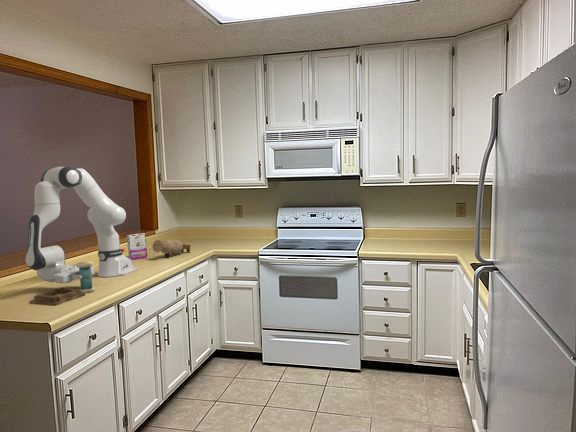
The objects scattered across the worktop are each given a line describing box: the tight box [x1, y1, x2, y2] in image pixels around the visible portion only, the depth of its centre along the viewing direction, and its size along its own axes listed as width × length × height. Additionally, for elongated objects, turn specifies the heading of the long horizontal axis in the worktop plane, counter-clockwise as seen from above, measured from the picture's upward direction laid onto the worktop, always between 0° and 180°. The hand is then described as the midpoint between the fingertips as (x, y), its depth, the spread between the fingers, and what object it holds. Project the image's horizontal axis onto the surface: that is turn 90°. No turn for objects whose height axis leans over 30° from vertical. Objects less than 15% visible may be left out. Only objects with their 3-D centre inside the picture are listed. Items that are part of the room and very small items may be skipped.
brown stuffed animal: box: [152, 238, 191, 259], centre depth 303 cm, size 10×12×30 cm
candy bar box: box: [126, 232, 148, 261], centre depth 300 cm, size 11×5×16 cm, turn 126°
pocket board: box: [29, 287, 86, 306], centre depth 206 cm, size 16×16×3 cm
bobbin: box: [76, 261, 96, 294], centre depth 217 cm, size 7×7×14 cm
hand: (86, 275), depth 217 cm, fingers closed on bobbin, 5 cm apart
